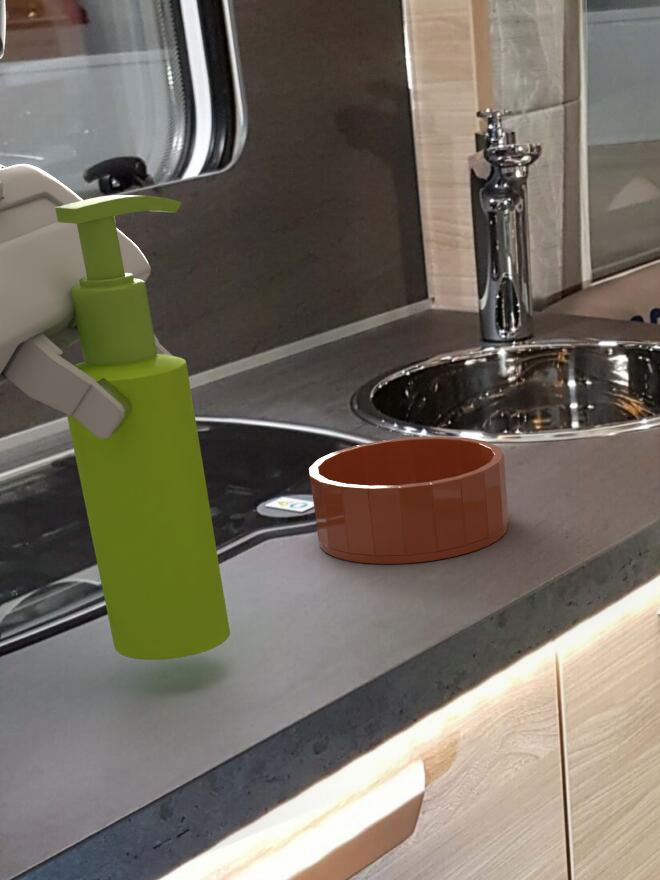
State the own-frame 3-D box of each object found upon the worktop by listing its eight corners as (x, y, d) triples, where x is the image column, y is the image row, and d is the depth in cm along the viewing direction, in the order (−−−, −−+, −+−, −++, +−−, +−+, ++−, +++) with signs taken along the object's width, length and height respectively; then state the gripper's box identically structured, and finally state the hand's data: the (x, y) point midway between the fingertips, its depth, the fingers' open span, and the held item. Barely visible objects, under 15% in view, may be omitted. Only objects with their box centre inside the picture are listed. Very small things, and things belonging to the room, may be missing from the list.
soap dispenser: (269, 631, 79) (204, 190, 68) (152, 669, 76) (64, 210, 65) (207, 608, 83) (136, 187, 72) (93, 643, 79) (0, 205, 68)
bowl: (296, 565, 94) (285, 490, 92) (346, 508, 104) (337, 439, 101) (489, 562, 92) (483, 485, 89) (521, 504, 102) (517, 433, 99)
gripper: (-33, 208, 79) (184, 402, 83) (-257, 280, 62) (27, 519, 66) (27, 100, 75) (250, 308, 79) (-193, 147, 59) (102, 407, 63)
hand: (147, 405), depth 73 cm, fingers closed on soap dispenser, 6 cm apart
